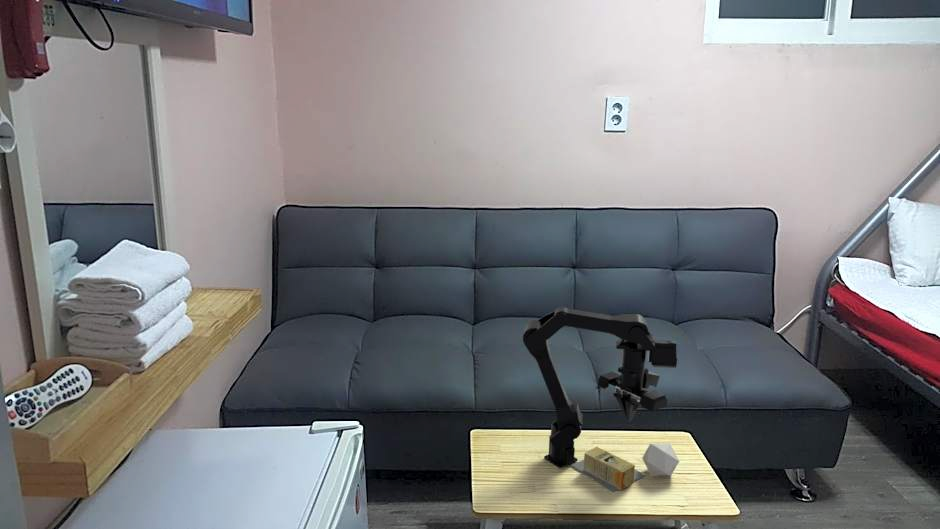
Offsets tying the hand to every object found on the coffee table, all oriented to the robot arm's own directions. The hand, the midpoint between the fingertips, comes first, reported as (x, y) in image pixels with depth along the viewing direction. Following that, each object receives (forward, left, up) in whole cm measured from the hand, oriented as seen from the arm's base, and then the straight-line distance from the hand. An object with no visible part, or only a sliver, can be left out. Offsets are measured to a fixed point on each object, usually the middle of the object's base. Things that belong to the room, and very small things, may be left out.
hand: (629, 420), depth 184 cm
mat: (-1, -6, -13) cm, 14 cm away
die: (+7, +4, -13) cm, 16 cm away
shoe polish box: (+8, -8, -10) cm, 15 cm away
